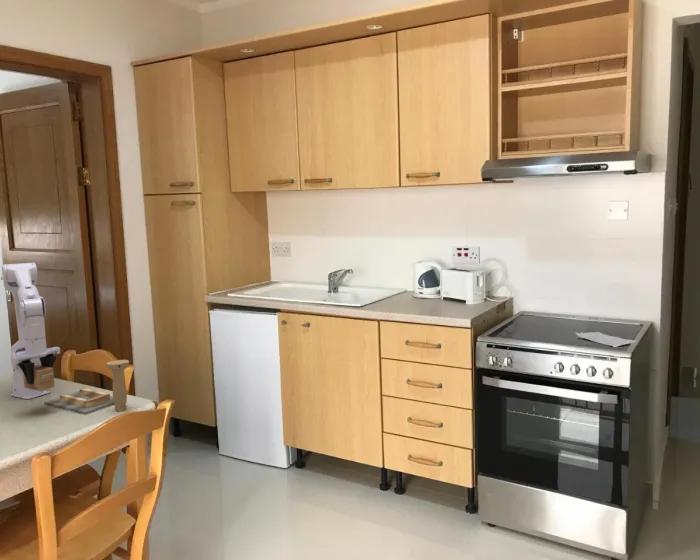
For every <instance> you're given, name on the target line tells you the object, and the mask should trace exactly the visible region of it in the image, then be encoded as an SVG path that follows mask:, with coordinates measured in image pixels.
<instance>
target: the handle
mask: <svg viewBox="0 0 700 560" xmlns="http://www.w3.org/2000/svg"><path fill="white" fill-rule="evenodd" d="M129 365H130V361H129V360H128V359H118V360H112V361H107V362H106V368H107V369H109V370H111V373H112V396H113V400H114V405H113V406H114V409H115V411H116V412H123V411H125V410H127V399H128V395H127V394H128V393H127V392H128V391H127V385H126V377H125V376H126V375H125V369H126V368H128V367H129Z"/></svg>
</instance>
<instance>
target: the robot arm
mask: <svg viewBox="0 0 700 560" xmlns="http://www.w3.org/2000/svg"><path fill="white" fill-rule="evenodd" d="M1 273H2V280H3V281H2V282H3V287H4V290H5V291H7V292H10V293H11V295H12V298H13V303H14V310H15V312H14V313H15V318H16V327H17V328H16V329H17V335H18V340H17V341H16V342H15V343H14V344H13V345H11V348H10V362H11V366H12V367H11V368H12V370H14V371H13V372H12V374H11V375H12V376H11V382H12V393H10V396H11V397H12V396H13V397H15V398H19V399H25V400H31V399H34V398H38V397H40V396H44V395H46V394H50V391H48V390H43V391H37V390H33V389H29V388H25V387H24V377H23V373H24V375H25V378H26V380H27V383H28V384H34V375H33V371H34V365H41V366H46V367H51V368H53V365H54V363H55V362H56V360H57V355H59V354H61V348H60V347H59V346H53V347H49V348H48V347H47V340H46V339H47V338H46V328H45V327H46V326H45V317H46V314H47V313H46V312H47V311H46V303H45V302H46V301H45V299H44V297H43V296H41V295H40V293H39V290H38V288H37V280H38V268H37V264H36V263H35V262H34V261H33V262H26V263H25V262H23V263H11V264H10V263H9V264H6V263H3V264H2V265H1Z"/></svg>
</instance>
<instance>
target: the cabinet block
mask: <svg viewBox="0 0 700 560" xmlns="http://www.w3.org/2000/svg"><path fill="white" fill-rule="evenodd" d="M33 375H34V384H28V383H27V380H26V378H25V375H24V373H23V377H24V387H25V388H29V389H33V390H37V391H43V390H45V391H47V390H49V389H52V388H55V376H54V375H55V373H54V367H52V368H51V367H46V366H41V365H34V371H33Z"/></svg>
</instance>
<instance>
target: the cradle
mask: <svg viewBox="0 0 700 560" xmlns="http://www.w3.org/2000/svg"><path fill="white" fill-rule="evenodd" d="M113 404H114V400H113V395H111V394H110V393H108V392H102V391H98V390H94V389H88V388H83V387H82V388H80V389H79V391H75V392H73V393H69V394H63V393H62V394H60V395H59V397H57V398H53V399H50V400H46V401H44V405H45V406H48V407H49V406H50V407H54V408H57V407H58V408H57V409H61V408H62V410H65V409H67V410H66V411H69V410H70V411H69V412H73V411H74V413H77V412H78V414H81V413H82V414H81V415H85V414H86V415H88V413H89V414H91V413H95V412H98V411H99V409H100V410H103V409H106V408H108V407H111V406H114V405H113ZM110 405H111V406H110ZM107 406H108V407H107ZM105 407H106V408H105ZM102 408H103V409H102Z"/></svg>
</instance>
